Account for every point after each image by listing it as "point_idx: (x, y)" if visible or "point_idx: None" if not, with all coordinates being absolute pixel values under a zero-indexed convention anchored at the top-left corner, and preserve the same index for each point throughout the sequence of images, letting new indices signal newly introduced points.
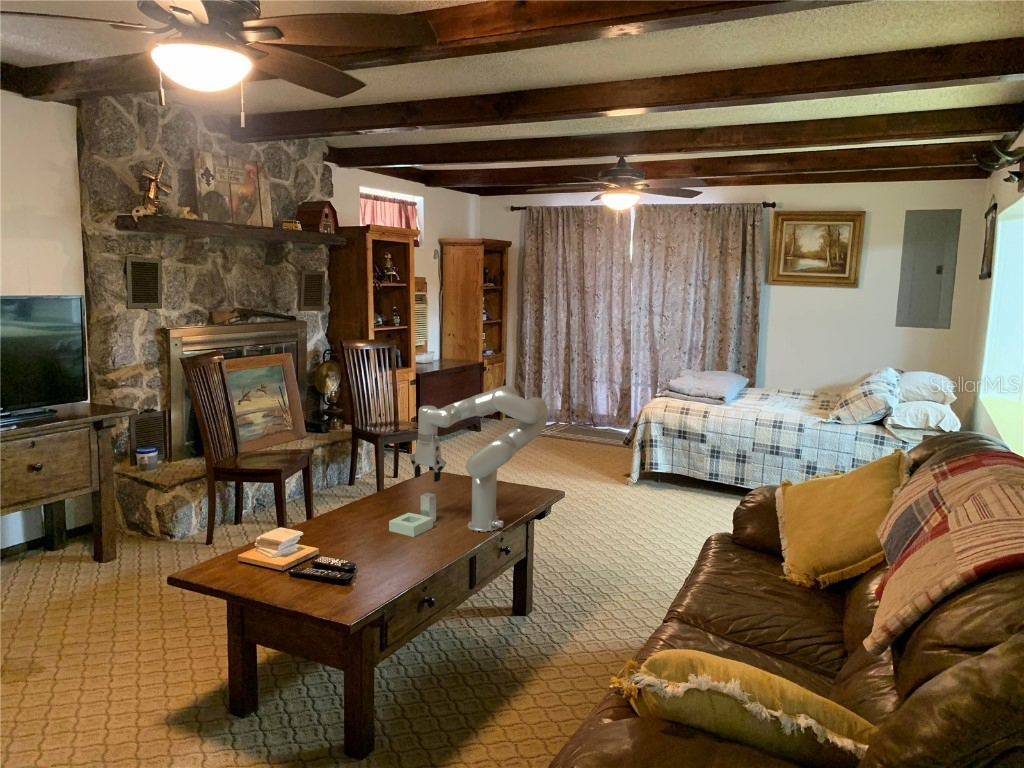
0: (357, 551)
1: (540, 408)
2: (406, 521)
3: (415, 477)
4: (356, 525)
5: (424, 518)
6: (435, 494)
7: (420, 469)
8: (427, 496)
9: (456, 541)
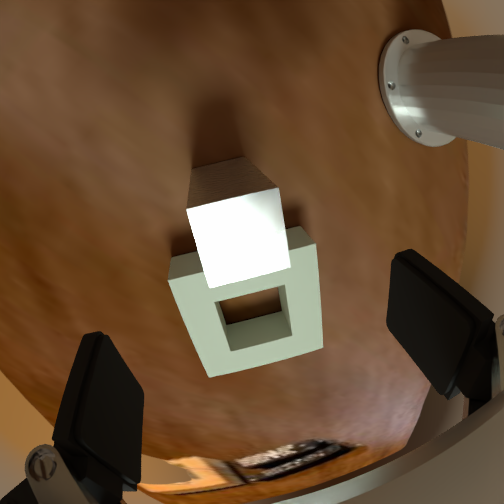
0: (267, 430)
1: None
2: (218, 310)
3: (139, 395)
4: None
5: (291, 275)
6: (274, 189)
7: (89, 408)
8: (266, 266)
9: (426, 248)
